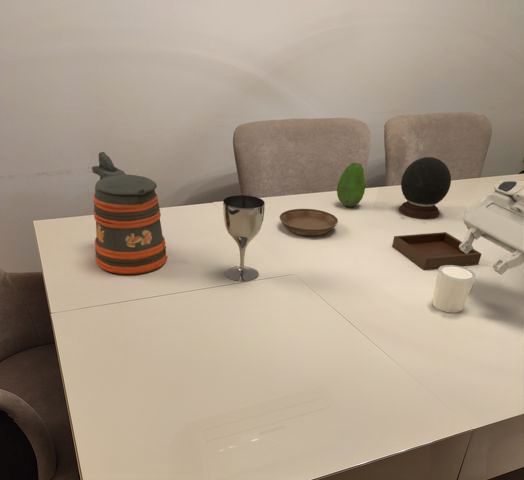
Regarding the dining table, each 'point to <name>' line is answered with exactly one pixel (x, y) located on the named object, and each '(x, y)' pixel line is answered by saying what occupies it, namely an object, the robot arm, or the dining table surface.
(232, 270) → the wine glass
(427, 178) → the black ball on stand
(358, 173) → the avocado
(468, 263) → the tray
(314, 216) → the saucer
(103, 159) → the beer stein
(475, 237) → the robot arm
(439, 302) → the white cup
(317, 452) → the dining table surface
